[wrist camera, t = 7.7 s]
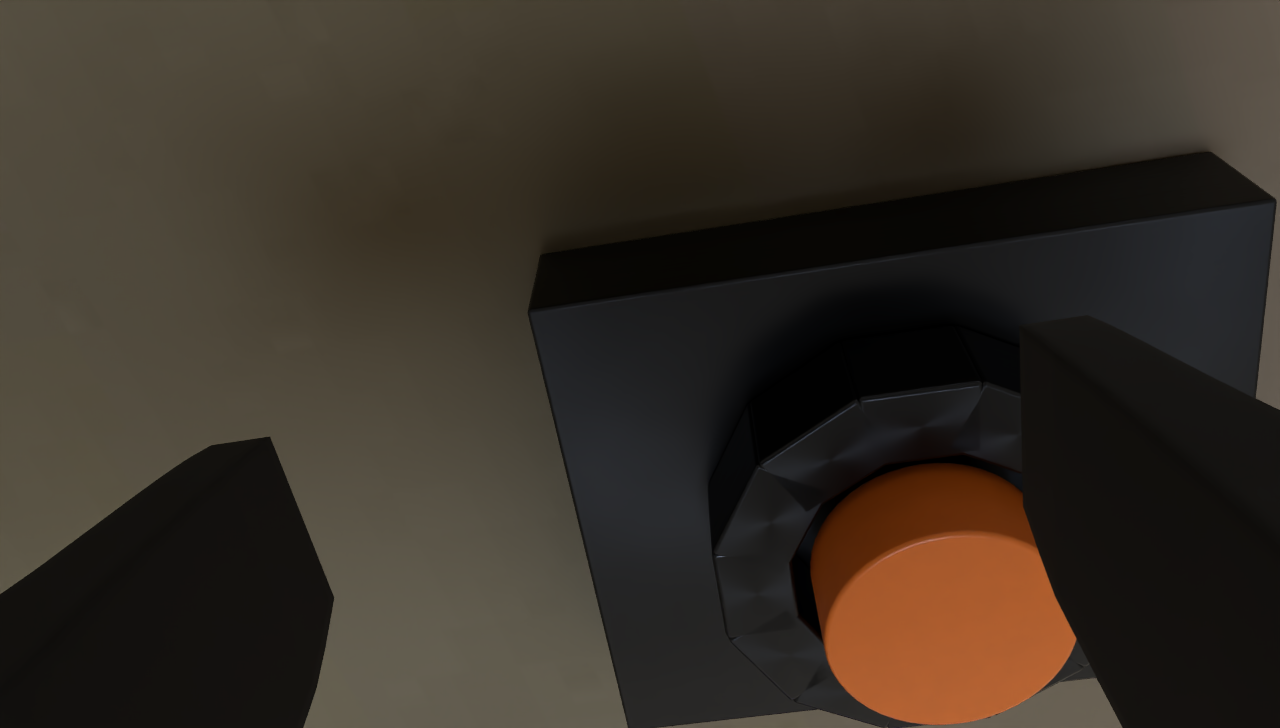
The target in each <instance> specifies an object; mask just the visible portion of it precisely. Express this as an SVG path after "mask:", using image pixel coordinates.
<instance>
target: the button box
mask: <svg viewBox="0 0 1280 728" xmlns="http://www.w3.org/2000/svg"><path fill="white" fill-rule="evenodd" d="M1276 203H1277V202H1276V199H1275V198H1274V197H1273V196H1271V195H1270V194H1268V193H1267V192H1266V191H1264V190H1263V189H1262V188H1260V187H1259V186H1257V185H1256V184H1255V183H1253V182H1252V181H1251V180H1249V179H1248V178H1247V177H1245V176H1244V175H1242V174H1241V173H1240V172H1238V171H1237V170H1236V169H1234V168H1233V167H1232V166H1230V165H1229V164H1227V163H1226V162H1225V161H1223V160H1222V159H1221V158H1219V157H1218V156H1217V155H1215V154H1214V153H1212V152H1206V153H1200V154H1193V155H1187V156H1180V157H1174V158H1167V159H1161V160H1154V161H1148V162H1141V163H1135V164H1128V165H1122V166H1115V167H1109V168H1102V169H1096V170H1089V171H1083V172H1076V173H1069V174H1063V175H1056V176H1050V177H1043V178H1037V179H1030V180H1024V181H1017V182H1011V183H1004V184H998V185H991V186H985V187H978V188H972V189H965V190H959V191H952V192H946V193H939V194H933V195H926V196H920V197H913V198H907V199H900V200H893V201H887V202H880V203H874V204H867V205H861V206H854V207H848V208H841V209H835V210H828V211H822V212H815V213H809V214H802V215H796V216H789V217H783V218H776V219H770V220H763V221H757V222H750V223H744V224H737V225H730V226H724V227H717V228H711V229H704V230H698V231H691V232H685V233H678V234H672V235H665V236H659V237H652V238H646V239H639V240H633V241H626V242H620V243H613V244H607V245H600V246H594V247H587V248H581V249H574V250H567V251H561V252H554V253H548V254H542V255H541V256H540V259H539V264H538V268H537V272H536V277H535V281H534V286H533V290H532V295H531V299H530V304H529V308H528V317H529V321H530V325H531V329H532V333H533V337H534V342H535V346H536V350H537V354H538V358H539V362H540V366H541V370H542V375H543V379H544V383H545V387H546V391H547V395H548V399H549V403H550V408H551V412H552V416H553V420H554V424H555V428H556V432H557V436H558V441H559V445H560V449H561V453H562V457H563V461H564V465H565V469H566V474H567V478H568V482H569V486H570V490H571V494H572V498H573V502H574V507H575V511H576V515H577V519H578V523H579V527H580V531H581V535H582V540H583V544H584V548H585V552H586V556H587V560H588V564H589V568H590V573H591V577H592V581H593V585H594V589H595V593H596V597H597V601H598V606H599V610H600V614H601V618H602V622H603V626H604V630H605V634H606V639H607V643H608V647H609V651H610V655H611V659H612V663H613V667H614V672H615V676H616V680H617V684H618V688H619V692H620V696H621V700H622V705H623V709H624V713H625V717H626V721H627V725H628V728H657V727H666V726H675V725H684V724H693V723H701V722H710V721H719V720H728V719H737V718H746V717H755V716H763V715H772V714H781V713H790V712H799V711H808V710H816V709H820V710H823V711H827V712H830V713H834V714H837V715H841V716H844V717H848V718H851V719H855V720H858V721H861V722H865V723H868V724H872V725H875V726H879V727H882V728H886V727H888V728H903V727H912V726H921V725H928V724H918V723H910V722H905V721H901V720H897V719H893V718H890V717H888V716H885V715H882V714H880V713H878V712H876V711H874V710H871V709H869V708H868V707H866V706H865V705H863V704H862V703H860V702H859V701H857V700H856V699H855V698H854V697H853V696H851V695H850V694H849V693H848V692H847V691H846V690H845V689H844V687H843V686H842V685H841V684H840V683H839V682H838V680H837V679H836V677H835V676H834V674H833V672H832V671H831V669H830V666H829V664H828V661H827V659H826V654H825V649H824V644H823V639H822V633H821V628H820V623H819V617H818V612H817V607H816V601H815V596H814V591H813V585H812V580H811V573H810V560H811V552H812V548H813V545H814V541H815V538H816V536H817V534H818V532H819V530H820V528H821V526H822V524H823V523H824V521H825V519H826V518H827V516H828V515H829V513H830V512H831V511H832V510H833V509H834V508H835V507H836V505H837V504H838V503H839V502H840V501H841V500H843V499H844V498H845V497H846V496H847V495H848V494H849V493H851V492H852V491H853V490H855V489H856V488H858V487H859V486H861V485H862V484H864V483H866V482H868V481H869V480H871V479H873V478H875V477H877V476H880V475H882V474H884V473H887V472H889V471H892V470H896V469H899V468H902V467H906V466H912V465H917V464H925V463H956V464H963V465H969V466H972V467H976V468H980V469H983V470H986V471H988V472H991V473H993V474H996V475H998V476H999V477H1001V478H1003V479H1005V480H1006V481H1008V482H1010V483H1011V484H1012V485H1014V486H1015V487H1016V488H1018V489H1019V490H1020V491H1021V492H1022V493H1023V483H1022V434H1021V385H1020V336H1019V325H1024V324H1031V323H1038V322H1044V321H1051V320H1058V319H1065V318H1071V317H1078V316H1085V315H1089V316H1091V317H1094V318H1096V319H1099V320H1101V321H1103V322H1105V323H1108V324H1110V325H1112V326H1114V327H1116V328H1118V329H1120V330H1122V331H1124V332H1126V333H1128V334H1130V335H1132V336H1134V337H1136V338H1138V339H1140V340H1142V341H1144V342H1146V343H1148V344H1149V345H1151V346H1153V347H1155V348H1157V349H1159V350H1161V351H1163V352H1165V353H1167V354H1169V355H1171V356H1173V357H1174V358H1176V359H1178V360H1180V361H1182V362H1184V363H1186V364H1188V365H1190V366H1192V367H1194V368H1196V369H1198V370H1200V371H1202V372H1203V373H1205V374H1207V375H1209V376H1211V377H1213V378H1215V379H1217V380H1219V381H1221V382H1223V383H1225V384H1227V385H1229V386H1231V387H1233V388H1235V389H1237V390H1239V391H1241V392H1243V393H1245V394H1247V395H1249V396H1251V397H1253V398H1256V389H1257V380H1258V371H1259V361H1260V352H1261V343H1262V333H1263V324H1264V315H1265V306H1266V296H1267V287H1268V278H1269V268H1270V259H1271V250H1272V241H1273V231H1274V222H1275V213H1276ZM1090 678H1097V677H1096V676H1095V674H1094V672H1093V670H1092V668H1091V666H1090V664H1089V662H1088V660H1087V658H1086V656H1085V654H1084V652H1083V650H1082V648H1081V647H1080V645H1079V643H1078V641H1077V639H1076V642H1075V645H1074V647H1073V650H1072V652H1071V654H1070V656H1069V658H1068V659H1067V661H1066V662H1065V664H1064V665H1063V667H1062V668H1061V670H1060V671H1059V672H1058V673H1057V674H1056V675H1055V677H1054V678H1053V679H1052V680H1051V681H1050V682H1049V683H1048V684H1047V685H1045V686H1044V687H1043V688H1042V689H1041V690H1040V691H1038V692H1037V693H1036V694H1038V693H1039V692H1041V691H1043V690H1045V689H1047V688H1049V687H1051V686H1053V685H1055V684H1057V683H1058V682H1064V681H1073V680H1081V679H1090ZM1036 694H1034V695H1036ZM1034 695H1033V696H1034ZM1031 697H1032V696H1031ZM998 714H999V713H998ZM996 715H997V714H996ZM990 717H991V716H990ZM990 717H987V718H990ZM983 719H984V718H983Z"/></svg>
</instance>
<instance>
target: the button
mask: <svg viewBox="0 0 1280 728" xmlns="http://www.w3.org/2000/svg"><path fill="white" fill-rule="evenodd" d="M810 573H811V580H812V585H813V591H814V596H815V601H816V607H817V612H818V617H819V623H820V628H821V633H822V639H823V644H824V649H825V654H826V659H827V661H828V664H829V666H830V669H831V671H832V672H833V674H834V676H835V677H836V679H837V680H838V682H839V683H840V684H841V685H842V686H843V687H844V689H845V690H846V691H847V692H848V693H849V694H850V695H851V696H853V697H854V698H855V699H856V700H857V701H859V702H860V703H862V704H863V705H865V706H866V707H868V708H869V709H871V710H874V711H876V712H878V713H880V714H882V715H885V716H888V717H890V718H893V719H897V720H901V721H905V722H910V723H918V724H928V725H946V724H958V723H965V722H971V721H975V720H979V719H983V718H987V717H990V716H993V715H996V714H998V713H1001V712H1004V711H1006V710H1008V709H1010V708H1012V707H1014V706H1017V705H1018V704H1020V703H1022V702H1023V701H1025V700H1027V699H1028V698H1030V697H1031V696H1033V695H1034V694H1036V693H1037V692H1038V691H1040V690H1041V689H1042V688H1043V687H1044V686H1045V685H1047V684H1048V683H1049V682H1050V681H1051V680H1052V679H1053V678H1054V677H1055V675H1056V674H1057V673H1058V672H1059V671H1060V670H1061V668H1062V667H1063V665H1064V664H1065V662H1066V661H1067V659H1068V658H1069V656H1070V654H1071V652H1072V650H1073V647H1074V645H1075V642H1076V637H1075V635H1074V633H1073V631H1072V629H1071V627H1070V625H1069V623H1068V621H1067V619H1066V617H1065V615H1064V613H1063V611H1062V609H1061V607H1060V605H1059V603H1058V601H1057V599H1056V597H1055V595H1054V592H1053V590H1052V587H1051V584H1050V582H1049V579H1048V576H1047V573H1046V571H1045V568H1044V565H1043V563H1042V560H1041V557H1040V554H1039V551H1038V548H1037V546H1036V543H1035V540H1034V537H1033V534H1032V531H1031V528H1030V525H1029V522H1028V519H1027V516H1026V513H1025V511H1024V508H1023V493H1022V492H1021V491H1020V490H1019V489H1018V488H1016V487H1015V486H1014V485H1012V484H1011V483H1010V482H1008V481H1006V480H1005V479H1003V478H1001V477H999V476H998V475H996V474H993V473H991V472H988V471H986V470H983V469H980V468H976V467H972V466H969V465H963V464H956V463H925V464H917V465H912V466H906V467H902V468H899V469H896V470H892V471H889V472H887V473H884V474H882V475H880V476H877V477H875V478H873V479H871V480H869V481H868V482H866V483H864V484H862V485H861V486H859V487H858V488H856V489H855V490H853V491H852V492H851V493H849V494H848V495H847V496H846V497H845V498H844V499H843V500H841V501H840V502H839V503H838V504H837V505H836V507H835V508H834V509H833V510H832V511H831V512H830V513H829V515H828V516H827V518H826V519H825V521H824V523H823V524H822V526H821V528H820V530H819V532H818V534H817V536H816V538H815V541H814V545H813V548H812V552H811V560H810Z"/></svg>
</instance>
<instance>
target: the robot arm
mask: <svg viewBox="0 0 1280 728" xmlns="http://www.w3.org/2000/svg"><path fill="white" fill-rule="evenodd" d="M1019 336H1020V385H1021V434H1022V483H1023V508H1024V511H1025V513H1026V516H1027V519H1028V522H1029V525H1030V528H1031V531H1032V534H1033V537H1034V540H1035V543H1036V546H1037V548H1038V551H1039V554H1040V557H1041V560H1042V563H1043V565H1044V568H1045V571H1046V573H1047V576H1048V579H1049V582H1050V584H1051V587H1052V590H1053V592H1054V595H1055V597H1056V599H1057V601H1058V603H1059V605H1060V607H1061V609H1062V611H1063V613H1064V615H1065V617H1066V619H1067V621H1068V623H1069V625H1070V627H1071V629H1072V631H1073V633H1074V635H1075V637H1076V639H1077V641H1078V643H1079V645H1080V647H1081V648H1082V650H1083V652H1084V654H1085V656H1086V658H1087V660H1088V662H1089V664H1090V666H1091V668H1092V670H1093V672H1094V674H1095V676H1096V677H1097V679H1098V681H1099V683H1100V685H1101V687H1102V689H1103V691H1104V693H1105V695H1106V697H1107V699H1108V700H1109V702H1110V704H1111V706H1112V708H1113V710H1114V712H1115V714H1116V716H1117V718H1118V720H1119V721H1120V723H1121V725H1122V727H1123V728H1280V410H1279V409H1276V408H1274V407H1272V406H1270V405H1268V404H1266V403H1264V402H1262V401H1260V400H1258V399H1256V398H1253V397H1251V396H1249V395H1247V394H1245V393H1243V392H1241V391H1239V390H1237V389H1235V388H1233V387H1231V386H1229V385H1227V384H1225V383H1223V382H1221V381H1219V380H1217V379H1215V378H1213V377H1211V376H1209V375H1207V374H1205V373H1203V372H1202V371H1200V370H1198V369H1196V368H1194V367H1192V366H1190V365H1188V364H1186V363H1184V362H1182V361H1180V360H1178V359H1176V358H1174V357H1173V356H1171V355H1169V354H1167V353H1165V352H1163V351H1161V350H1159V349H1157V348H1155V347H1153V346H1151V345H1149V344H1148V343H1146V342H1144V341H1142V340H1140V339H1138V338H1136V337H1134V336H1132V335H1130V334H1128V333H1126V332H1124V331H1122V330H1120V329H1118V328H1116V327H1114V326H1112V325H1110V324H1108V323H1105V322H1103V321H1101V320H1099V319H1096V318H1094V317H1091V316H1089V315H1085V316H1078V317H1071V318H1065V319H1058V320H1051V321H1044V322H1038V323H1031V324H1024V325H1019ZM333 601H334V596H333V594H332V591H331V589H330V586H329V584H328V581H327V579H326V576H325V574H324V571H323V569H322V566H321V564H320V561H319V559H318V556H317V553H316V551H315V548H314V546H313V543H312V541H311V538H310V536H309V533H308V531H307V528H306V526H305V523H304V521H303V518H302V516H301V513H300V511H299V508H298V506H297V503H296V501H295V498H294V496H293V493H292V491H291V488H290V486H289V483H288V481H287V478H286V476H285V473H284V471H283V468H282V466H281V463H280V461H279V458H278V456H277V453H276V451H275V448H274V446H273V443H272V441H271V438H270V437H264V438H258V439H251V440H244V441H238V442H231V443H224V444H217V445H211V446H209V447H208V448H206V449H204V450H202V451H200V452H199V453H197V454H195V455H193V456H192V457H190V458H189V459H187V460H185V461H184V462H182V463H181V464H179V465H178V466H176V467H175V468H173V469H172V470H170V471H169V472H167V473H166V474H165V475H163V476H162V477H160V478H159V479H158V480H156V481H155V482H153V483H152V484H151V485H149V486H148V487H146V488H145V489H144V490H142V491H141V492H140V493H138V494H137V495H135V496H134V497H133V498H131V499H130V500H129V501H127V502H126V503H125V504H123V505H122V506H121V507H119V508H118V509H117V510H115V511H114V512H113V513H111V514H110V515H108V516H107V517H106V518H104V519H103V520H102V521H100V522H99V523H98V524H96V525H95V526H94V527H92V528H91V529H90V530H88V531H87V532H86V533H84V534H83V535H82V536H80V537H79V538H78V539H76V540H75V541H74V542H72V543H71V544H69V545H68V546H67V547H65V548H64V549H63V550H61V551H60V552H59V553H57V554H56V555H55V556H53V557H52V558H51V559H49V560H48V561H47V562H45V563H44V564H43V565H41V566H40V567H38V568H37V569H36V570H34V571H33V572H32V573H30V574H29V575H27V576H26V577H24V578H23V579H22V580H20V581H19V582H17V583H16V584H14V585H13V586H12V587H10V588H9V589H7V590H6V591H4V592H3V593H2V594H0V728H303V726H304V724H305V721H306V718H307V715H308V712H309V709H310V706H311V703H312V700H313V697H314V694H315V691H316V688H317V683H318V679H319V674H320V670H321V665H322V660H323V656H324V651H325V647H326V641H327V635H328V630H329V624H330V618H331V613H332V607H333Z"/></svg>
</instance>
